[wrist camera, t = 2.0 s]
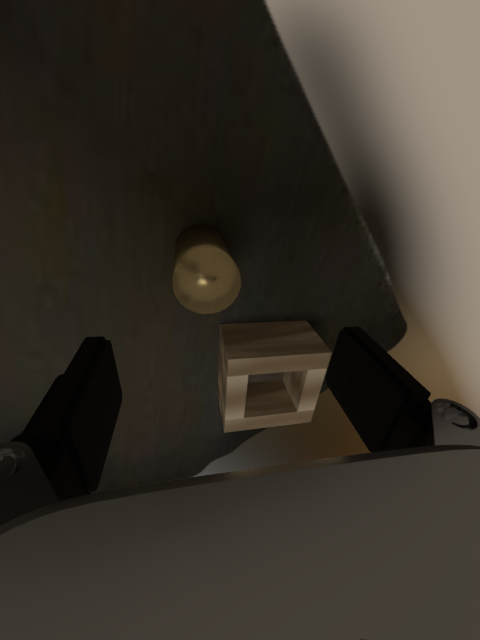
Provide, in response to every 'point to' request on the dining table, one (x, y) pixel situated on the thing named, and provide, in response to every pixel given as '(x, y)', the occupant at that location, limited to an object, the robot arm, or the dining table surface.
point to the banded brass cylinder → (204, 271)
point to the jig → (269, 373)
